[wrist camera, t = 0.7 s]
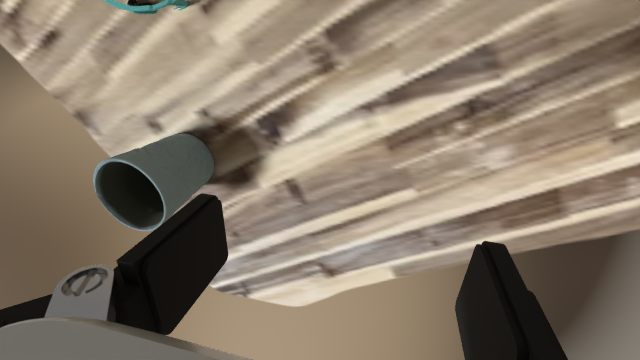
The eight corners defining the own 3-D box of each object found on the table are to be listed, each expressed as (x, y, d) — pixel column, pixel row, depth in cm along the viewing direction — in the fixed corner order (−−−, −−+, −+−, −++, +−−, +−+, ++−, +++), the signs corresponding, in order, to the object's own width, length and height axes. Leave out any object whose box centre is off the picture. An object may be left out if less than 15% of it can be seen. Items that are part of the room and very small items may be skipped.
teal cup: (209, 127, 42) (146, 157, 32) (227, 189, 47) (176, 234, 36) (152, 131, 45) (77, 159, 35) (174, 189, 49) (113, 231, 39)
